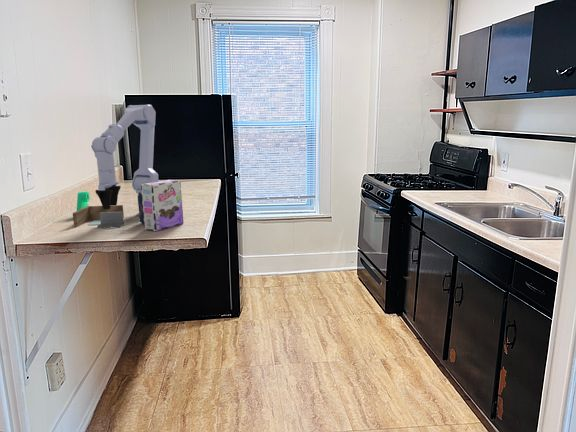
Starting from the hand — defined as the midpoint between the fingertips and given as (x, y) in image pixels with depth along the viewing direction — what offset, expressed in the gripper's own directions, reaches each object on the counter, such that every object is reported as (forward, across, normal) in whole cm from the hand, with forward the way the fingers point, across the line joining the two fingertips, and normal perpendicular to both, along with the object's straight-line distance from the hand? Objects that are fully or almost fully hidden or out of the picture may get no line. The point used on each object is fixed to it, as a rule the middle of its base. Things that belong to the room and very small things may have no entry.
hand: (110, 207), depth 165 cm
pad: (+7, +6, +7) cm, 11 cm away
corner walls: (+7, +6, +6) cm, 11 cm away
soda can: (+7, +1, -14) cm, 15 cm away
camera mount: (+7, +20, +15) cm, 26 cm away
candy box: (+7, -6, -20) cm, 22 cm away
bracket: (+7, -2, 0) cm, 7 cm away
